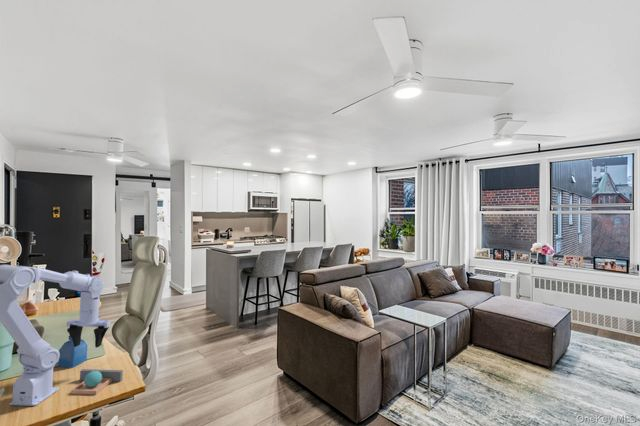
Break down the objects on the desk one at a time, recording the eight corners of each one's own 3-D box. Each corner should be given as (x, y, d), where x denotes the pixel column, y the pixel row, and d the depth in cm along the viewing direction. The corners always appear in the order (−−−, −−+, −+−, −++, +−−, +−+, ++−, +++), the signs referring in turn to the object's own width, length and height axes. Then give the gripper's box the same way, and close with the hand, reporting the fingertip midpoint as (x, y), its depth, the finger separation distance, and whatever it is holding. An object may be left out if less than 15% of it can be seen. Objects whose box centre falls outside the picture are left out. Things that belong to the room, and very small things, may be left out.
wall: (120, 381, 112) (120, 371, 112) (79, 380, 112) (80, 370, 112) (122, 380, 113) (122, 370, 113) (82, 378, 113) (82, 369, 113)
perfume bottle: (86, 360, 126) (88, 330, 126) (73, 367, 120) (74, 336, 120) (72, 359, 127) (73, 329, 127) (58, 366, 121) (59, 334, 121)
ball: (95, 390, 105) (96, 375, 106) (79, 389, 105) (81, 374, 105) (104, 382, 110) (106, 368, 111) (89, 381, 110) (91, 367, 110)
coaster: (96, 394, 104) (96, 390, 104) (71, 393, 104) (71, 390, 104) (111, 381, 112) (111, 378, 112) (88, 381, 112) (88, 377, 112)
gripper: (116, 306, 121) (114, 342, 121) (77, 305, 121) (75, 341, 121) (104, 312, 114) (102, 350, 114) (63, 311, 114) (61, 348, 114)
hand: (87, 346), depth 117 cm, fingers open, 7 cm apart
